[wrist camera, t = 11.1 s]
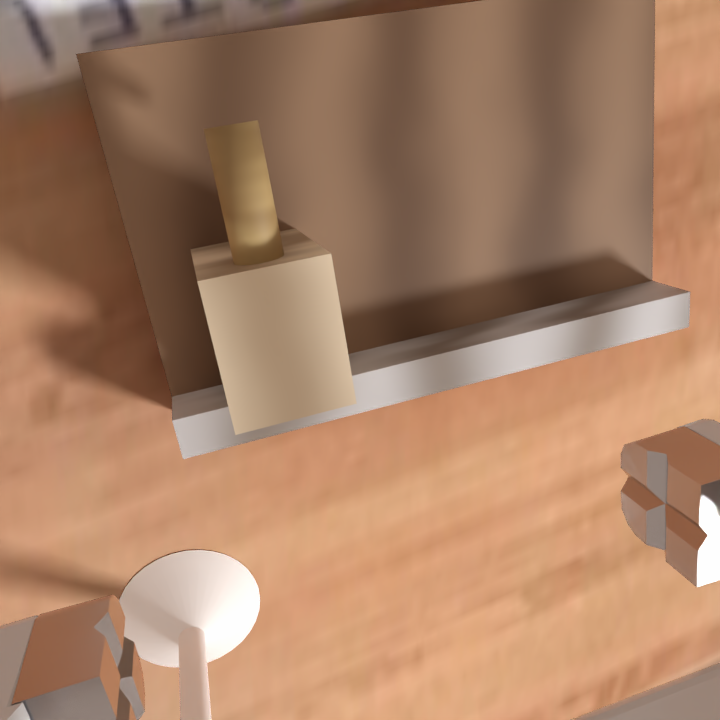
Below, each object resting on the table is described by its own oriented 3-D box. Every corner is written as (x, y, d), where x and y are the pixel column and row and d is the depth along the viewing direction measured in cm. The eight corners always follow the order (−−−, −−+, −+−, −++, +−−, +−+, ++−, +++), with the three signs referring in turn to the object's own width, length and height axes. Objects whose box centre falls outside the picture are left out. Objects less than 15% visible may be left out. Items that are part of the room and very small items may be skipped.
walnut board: (622, -12, 28) (700, -38, 24) (624, 303, 33) (689, 327, 29) (83, 60, 23) (65, 44, 19) (180, 413, 28) (183, 459, 24)
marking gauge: (274, 118, 24) (307, 111, 18) (318, 349, 27) (356, 403, 21) (162, 136, 23) (161, 135, 17) (221, 372, 26) (235, 435, 21)
